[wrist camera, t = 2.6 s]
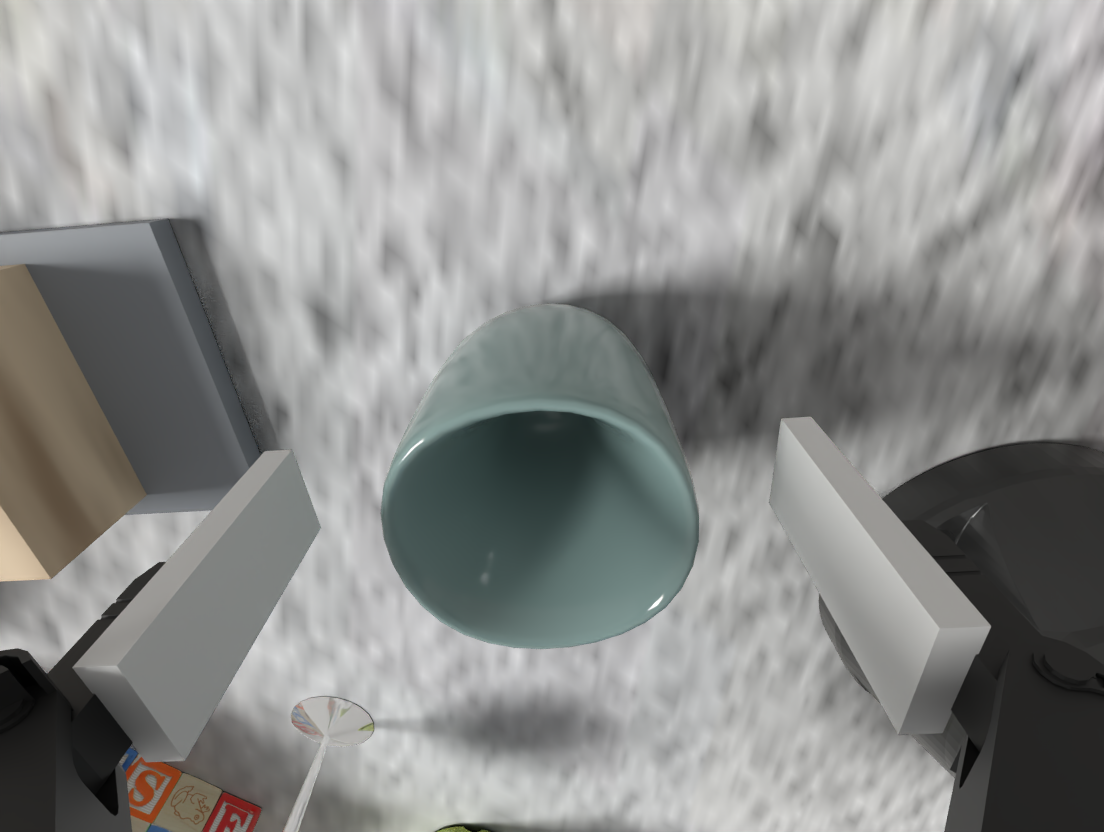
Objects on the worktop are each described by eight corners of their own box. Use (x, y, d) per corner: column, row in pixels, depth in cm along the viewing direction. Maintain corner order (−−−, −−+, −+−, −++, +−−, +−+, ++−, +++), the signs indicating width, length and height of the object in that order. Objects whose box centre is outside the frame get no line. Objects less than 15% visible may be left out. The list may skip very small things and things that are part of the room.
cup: (481, 469, 24) (434, 669, 15) (427, 301, 20) (323, 431, 11) (656, 440, 23) (715, 633, 14) (631, 259, 19) (690, 365, 11)
